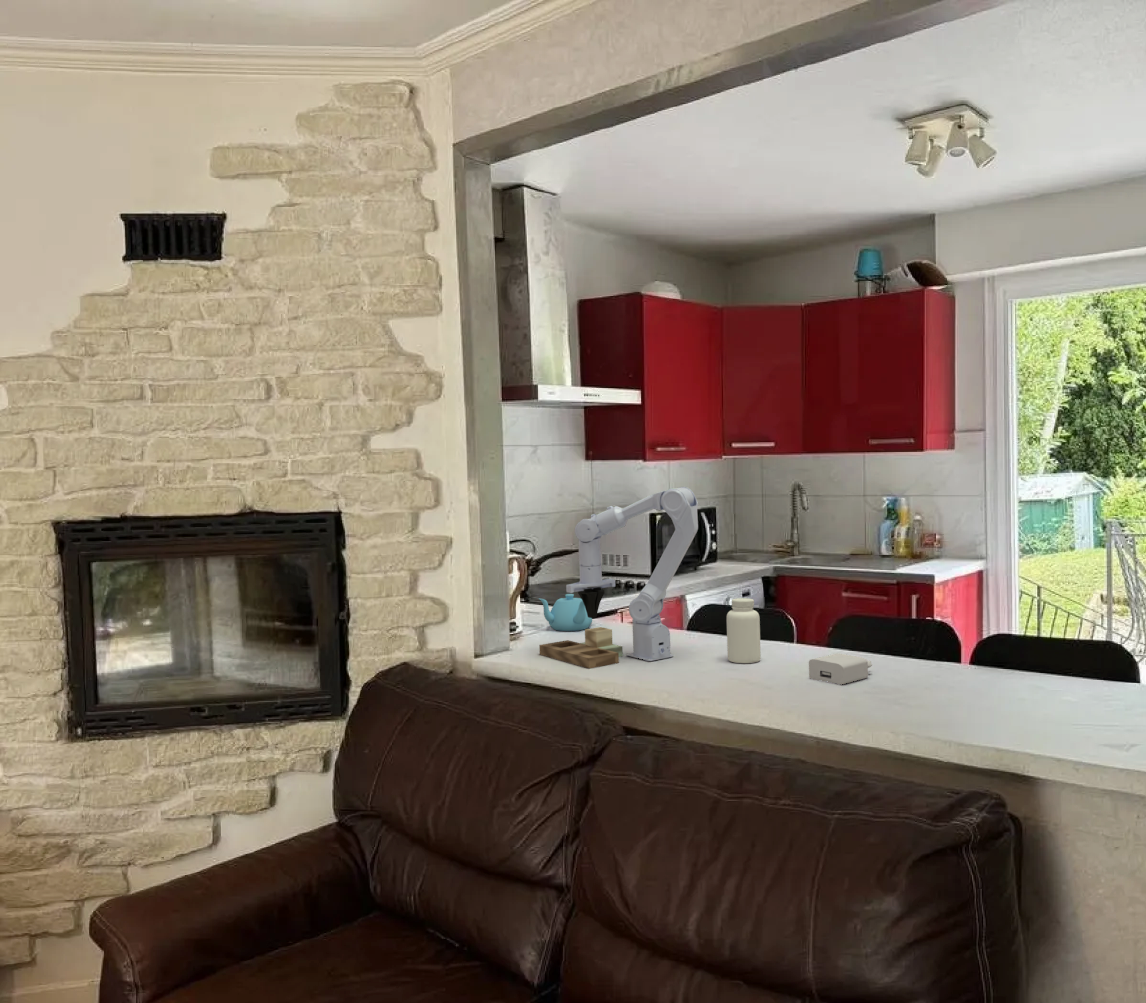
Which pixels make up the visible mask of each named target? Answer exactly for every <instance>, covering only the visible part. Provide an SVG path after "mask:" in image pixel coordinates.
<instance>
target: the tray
mask: <svg viewBox="0 0 1146 1003" xmlns="http://www.w3.org/2000/svg"><path fill="white" fill-rule="evenodd" d="M539 656H544V657H547V658H551V659H555V660H558V661H561V662H564V663H568V664H572V665H575V666H579V667H582V668H586V669H594V668H600V667H604V666H610V665H615V663H616V664H619V663H620V657H623V646H621V645H619V644H618V645H617V644H614V643H612V645H610V646H604V647H599V648H596V647H592V646H588V645H585V641H584V642H577V641H573V640H560V641H555V642H550V643H549V642H548V643H543V644H539Z"/></svg>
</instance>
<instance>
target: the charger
mask: <svg viewBox="0 0 1146 1003" xmlns="http://www.w3.org/2000/svg"><path fill="white" fill-rule="evenodd" d="M872 666H873V664H872V661H871V660H868V659H867V658H865V657H862V656H857V655H849V654H845V653H839V652H837V653H833V654H829V655H824V656H822V657H817V658H812V659H809V660H808V677H809V678H810V679H811V680H815V681H819V680H822V681H821V682H824V681H828V682H827V683H829V682H832V683H831V684H833V683H837V684H836V685H838V684H841V685H840V686H842V684H843V685H846V683H847V684H850V683H854V682H857V680H858V681H861V680H865V679H867V678H868V677H869V668H871V667H872ZM853 681H854V682H853Z"/></svg>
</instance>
